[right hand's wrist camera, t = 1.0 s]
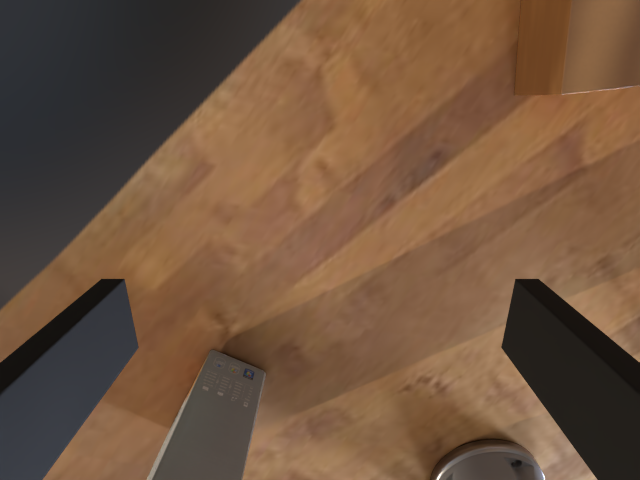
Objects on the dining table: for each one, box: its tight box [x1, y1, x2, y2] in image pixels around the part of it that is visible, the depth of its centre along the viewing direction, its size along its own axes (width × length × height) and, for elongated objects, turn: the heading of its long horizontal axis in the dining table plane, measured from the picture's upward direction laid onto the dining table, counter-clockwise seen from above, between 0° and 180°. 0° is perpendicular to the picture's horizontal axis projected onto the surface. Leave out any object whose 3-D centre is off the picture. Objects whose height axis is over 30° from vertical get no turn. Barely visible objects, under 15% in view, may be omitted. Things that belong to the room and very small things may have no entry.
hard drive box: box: [147, 350, 266, 480], centre depth 39 cm, size 16×8×20 cm, turn 152°
